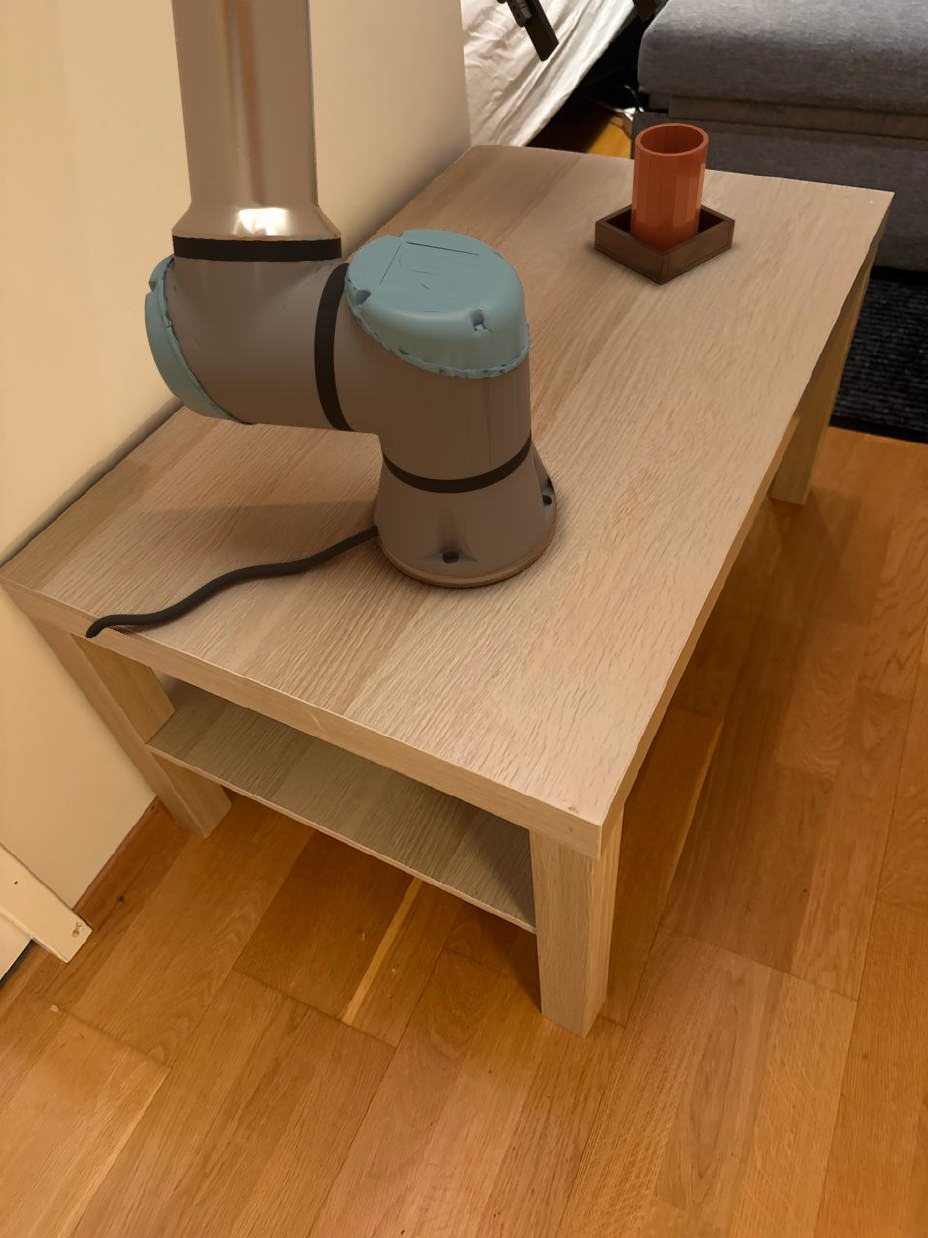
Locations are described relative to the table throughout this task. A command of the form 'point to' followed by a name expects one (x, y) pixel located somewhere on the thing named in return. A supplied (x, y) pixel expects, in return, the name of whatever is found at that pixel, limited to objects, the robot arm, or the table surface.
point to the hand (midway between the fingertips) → (602, 32)
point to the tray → (653, 262)
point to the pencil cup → (668, 184)
